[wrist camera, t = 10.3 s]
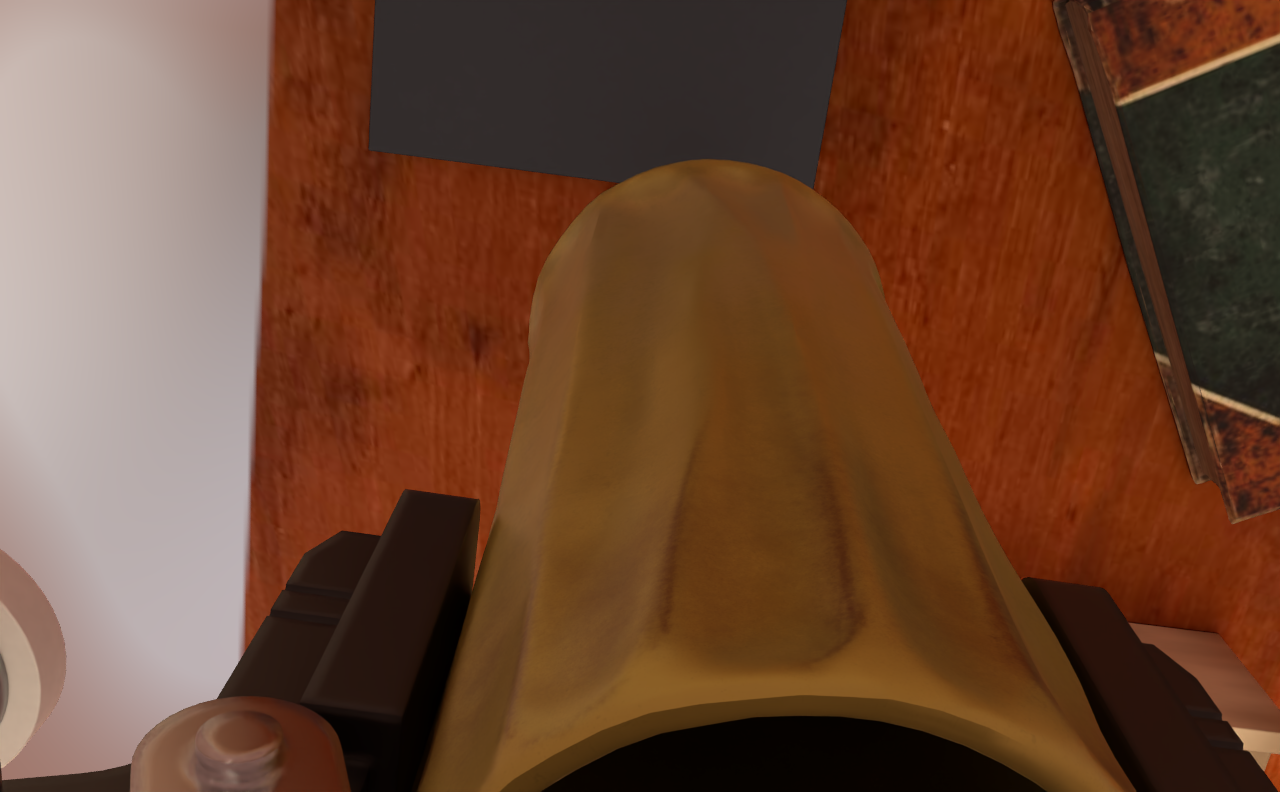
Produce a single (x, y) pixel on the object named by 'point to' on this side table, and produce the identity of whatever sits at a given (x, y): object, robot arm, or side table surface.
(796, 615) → the vase
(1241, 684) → the rack
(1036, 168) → the side table surface
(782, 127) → the mat
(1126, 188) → the book
